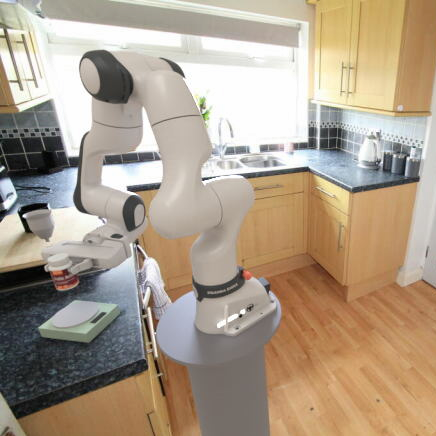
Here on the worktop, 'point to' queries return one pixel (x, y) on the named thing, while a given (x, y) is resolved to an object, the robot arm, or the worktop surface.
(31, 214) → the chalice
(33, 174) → the worktop surface
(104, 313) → the scale
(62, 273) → the pill bottle
